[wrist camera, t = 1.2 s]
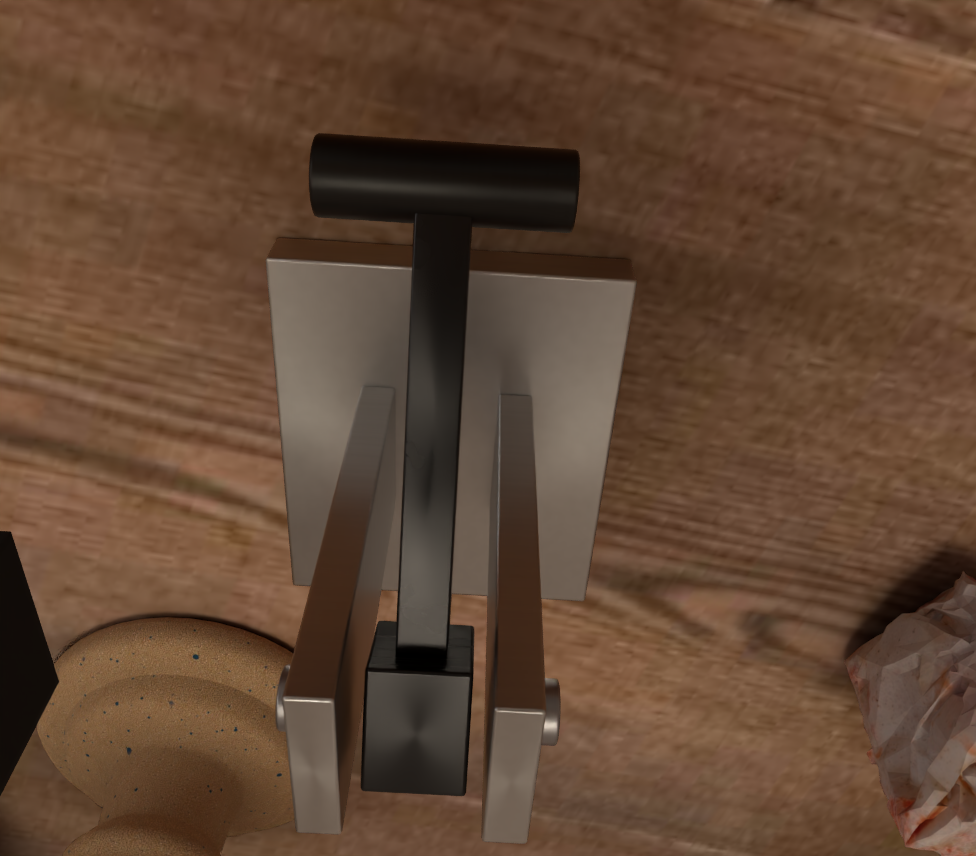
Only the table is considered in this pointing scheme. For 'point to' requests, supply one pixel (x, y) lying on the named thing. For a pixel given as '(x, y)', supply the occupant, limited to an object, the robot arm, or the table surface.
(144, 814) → the candle holder
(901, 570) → the table surface
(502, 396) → the bracket
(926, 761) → the food item
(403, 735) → the lever
